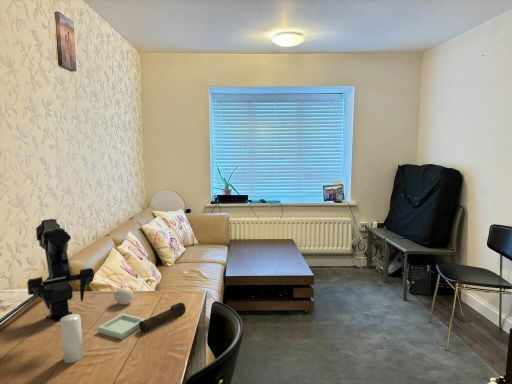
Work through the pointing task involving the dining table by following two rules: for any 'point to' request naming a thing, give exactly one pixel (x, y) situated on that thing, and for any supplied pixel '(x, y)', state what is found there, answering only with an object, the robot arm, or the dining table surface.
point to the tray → (120, 326)
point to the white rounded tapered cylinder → (71, 338)
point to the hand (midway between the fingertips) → (65, 304)
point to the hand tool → (162, 317)
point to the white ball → (123, 295)
